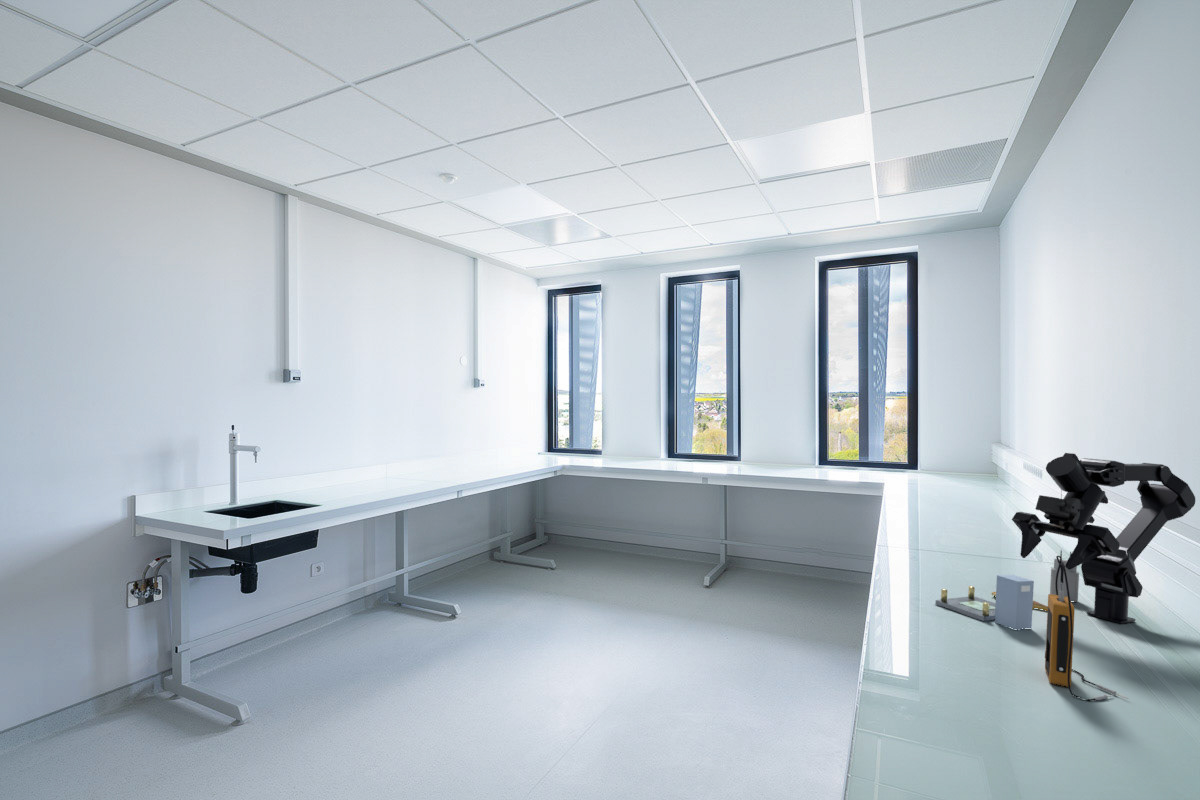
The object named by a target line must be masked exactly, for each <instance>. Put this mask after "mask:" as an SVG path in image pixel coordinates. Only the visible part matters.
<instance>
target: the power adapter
mask: <svg viewBox="0 0 1200 800" xmlns="http://www.w3.org/2000/svg"><path fill="white" fill-rule="evenodd" d="M1071 554H1072V551H1069V556H1070V555H1071ZM1059 556H1060V557H1061V558H1062V562H1063V563H1064V565H1066V563H1067V561H1068V559H1063V551H1062V549H1060V553H1059ZM1059 561H1060V558H1059ZM1062 562H1061V563H1062ZM1058 566H1059V563H1058V561H1057V558H1054V559H1053V567H1051V568H1050V583H1049V585H1050V587H1049V594H1053V595H1056V585H1055V582H1056V574H1057V570H1058ZM1077 568H1078V566H1076V567H1074V568H1072V569H1070V570H1068V569H1067V568H1066V567H1065V570H1066V575H1067V581H1068V587H1069V594H1070V601H1074V602H1078V603H1079V588H1080V587H1079V586H1080V584H1079V583H1080V582H1079V581H1080V572H1079V571H1077ZM1060 580H1061V568H1060V570H1059V574H1058V580H1057V589H1058V595H1059V589H1060ZM1063 583H1064V584H1063V585H1064V586H1063V587H1064V588H1063V591H1064V597H1068V594H1067V587H1066V581H1065V575H1064V577H1063Z"/></svg>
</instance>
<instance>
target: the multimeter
mask: <svg viewBox="0 0 1200 800" xmlns="http://www.w3.org/2000/svg"><path fill="white" fill-rule="evenodd" d="M1055 559H1057V561H1058V563H1059V566H1058V570H1057V574H1056V582H1055V585H1056V595H1053V594H1050V593H1049V594H1048V595H1047V606H1048V612H1047V615H1046V633H1045V634H1046V637H1045V652H1044V669H1045V670H1046V671H1045V672H1046V676H1047V678H1048V682H1049V684H1052V683H1053V684H1052V685H1056V684H1057V685H1056V686H1060V685H1061V687H1064V686H1066V688H1068V690H1069V693H1070V695H1072V696H1073V695H1074V696H1073V697H1075V696H1076V697H1075V698H1077V697H1080V698H1082V697H1081V696H1079V695H1076V694H1074V693H1073V690H1072V689H1071V687H1072V673H1073V672H1074V671H1075V672H1074V673H1076V672H1077V673H1076V674H1078V675H1080V676H1081V681H1084V682H1085V683H1088V684H1091V685H1092V686H1095V687H1096V688H1099V689H1100V690H1103V691H1105V692H1108V693H1110V694H1109V695H1107V694H1103V695H1099V696H1096V697H1094V698H1091V699H1090V698H1089V699H1088V700H1094V701H1095V700H1098V701H1101V700H1102V701H1103V700H1108V699H1109V697H1114V696H1116V695H1117V696H1120V697H1122V698H1124V699H1126V700H1129V698H1128V697H1126V696H1124V695H1122V694H1120V693H1117V691H1116V690H1112V689H1111V688H1110V689H1109V688H1107V687H1105V686H1103V685H1100V684H1097V683H1094V682H1091V681H1088V680H1086V679H1084V678H1085V676H1084V675H1083V673H1081V672H1079V671H1078V670H1076V669H1073V668H1072V667H1073V649H1074V630H1075V628H1074V627H1075V606H1074V604H1073V603H1072V602H1071V601H1070V594H1069V587H1068V581H1067V575H1066V570H1065V565H1064V563H1063V562H1062V559H1063V557H1062V558H1061V557H1060V555H1056V557H1055ZM1059 559H1060V561H1059ZM1061 562H1062V563H1061ZM1060 568H1061V580H1060V589H1059V595H1058V589H1057V580H1058V574H1059V570H1060ZM1064 575H1065V581H1066V587H1067V594H1068V597H1064V591H1063V588H1064V587H1063V586H1064V585H1063V584H1064V583H1063V577H1064ZM1072 670H1074V671H1072Z"/></svg>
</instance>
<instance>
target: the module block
mask: <svg viewBox="0 0 1200 800" xmlns="http://www.w3.org/2000/svg"><path fill="white" fill-rule="evenodd" d="M1034 584H1035V581H1034V580H1032V579H1029V578H1025V577H1022V576H1018V575H1015V574H997V575H996V586H995V592H996V598H995V603H996V604H995V620H994V623H995V622H996V623H995V624H997V623H999V624H1001V625H1000V626H1002V625H1004V626H1003V627H1005V626H1007V627H1011V628H1013V629H1022V628H1023V629H1025V628H1031V629H1032V627H1033V609H1032V608H1033V601H1034V586H1035V585H1034ZM999 624H998V625H999ZM1007 627H1006V628H1007Z"/></svg>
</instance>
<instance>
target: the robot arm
mask: <svg viewBox="0 0 1200 800" xmlns="http://www.w3.org/2000/svg"><path fill="white" fill-rule="evenodd" d="M1045 470H1046V472H1047V474H1048V475H1049V476H1050V478H1051V479H1052V481H1054V482H1055V484H1056V485H1057V486H1058V488H1060V490H1062V491H1063V492H1066V495H1065V496H1064V497H1063V498H1060V497H1054V496H1050V495H1049V496H1048V495H1047V496H1046V495H1038V498H1037V502H1036V506H1035V510H1036V511H1040V512H1041V513H1044V515H1043V517H1044V518H1045V519H1046V520H1048V522H1046V521H1042V520H1041V519H1040V518H1039V517H1038V516H1037V514H1036V513H1035V514H1034V513H1030V512H1023V511H1017V512H1015V514H1014V516H1013V517H1012V519H1011V521H1012V522H1013V524H1014V525H1016V527H1017V528H1018V529H1019V530H1020V531H1021V546H1020V557H1021V558H1022V559H1025V558H1027V557H1028V556H1030V554H1031V553H1032V552H1033V551H1034V549H1036V547H1037V546H1038V545H1039V544H1040V542H1042V540H1043V539H1042V538H1041V537H1043V536H1044V535H1045V534H1046V533H1051V534H1055V535H1060V536H1063V537H1068V538H1074V539H1077V544H1076V545H1075V547H1074V549H1073V551H1071V555H1070V554H1069V557H1068V559H1067V560H1068V561H1067V563H1066V565H1065V567H1066V568H1067V569H1068V570H1070V569H1072V568H1074V567H1076V566H1077V567H1078V566H1080V565H1081V566H1080V567H1081V572H1082V579H1083V582H1084V583H1083V584H1084V586H1087V587H1092V588H1094V589H1095V590H1094V606H1093V608H1094V609H1093V610H1088V611H1086V613H1085V614H1086V615H1090V616H1093V617H1095V618H1099V619H1102V620H1107V621H1109V622H1113V623H1116V624H1120V625H1123V624H1127V623H1133V622H1136V619H1135V618H1133V617H1131V616H1129V598H1130V597H1133V598H1139V597H1140V596H1141V595H1142V591H1143V585H1142V584H1141V582H1140V581H1139V579H1138V577H1137V576H1136V574H1137V570H1136V565H1135V561H1136V559H1138V558H1139V556H1140V554H1142V552H1144V550H1145V549H1146V547H1147V546H1148V545H1149V544H1150V543H1151V541H1152V540H1153V539H1154V538H1155V537H1156V535H1157V534H1159V532H1160V530H1161V529H1162V528H1163V527H1164V526H1165V524H1166V523H1168V522H1169V521H1172V520H1176V519H1178V518H1183V517H1184V516H1185V515H1186V514H1187V513H1189V511H1191V510H1192V509H1193V508H1194V506H1195V505H1196V496H1195V493H1194V492H1193V491H1192V488H1191V487H1190V486H1189V484H1188V483H1187V482H1185V480H1183V479H1181V478H1180V477H1178V476H1177V475H1176V474H1174V473H1173V472H1172V470H1171V468H1170V467H1169V466H1167V465H1164V464H1160V463H1147V462H1142V463H1123V462H1120V461H1118V460H1117V461H1116V460H1109V459H1099V458H1098V459H1097V458H1086V457H1084V458H1081V459H1079V457H1078V456H1077V455H1076V453H1073V452H1072V453H1071V452H1064V454H1063V455H1062V456H1059V457H1056V458H1054V459H1052V460H1050V461H1048V463H1047V464H1046V466H1045ZM1136 481H1137V482H1139V483H1138V485H1137V488H1136V490H1137V492H1138V494H1140V496H1139V498H1140V501H1141V506H1142V507H1141V508H1140V509H1139V511H1138V512H1136V513H1135V515H1134V516H1133V518H1132V519H1131V520H1130V522H1128V523H1127V524H1126V526H1125V527H1124V528H1123V529H1122V530H1121V532H1120V533H1119V534H1118V535H1117V536H1116V537H1115V536H1114V534H1113V533H1112V531H1111V530H1110V529H1109V527H1105V526H1101V525H1094V522H1095V518H1094V517H1093V515H1094V513H1095V512H1096V510H1097V508H1098V506H1099V505H1100V504H1105V505H1106V504H1108V503H1109V498H1108V497H1107V495H1106V491H1105V490H1102V488H1101V487H1100V486H1103V487H1109V488H1113V487H1114V488H1115V487H1119V486H1122V485H1125V482H1136ZM1150 482H1158V483H1159V482H1160V483H1161V484H1157V483H1150Z"/></svg>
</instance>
